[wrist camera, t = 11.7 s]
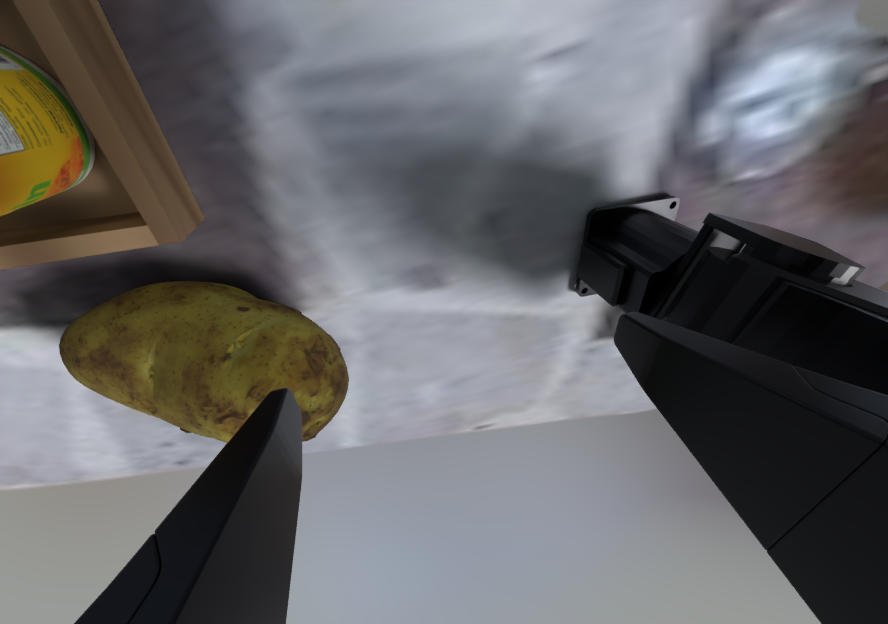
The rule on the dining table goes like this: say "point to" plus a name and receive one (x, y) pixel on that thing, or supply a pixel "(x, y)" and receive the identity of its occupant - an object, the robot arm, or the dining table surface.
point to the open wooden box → (116, 144)
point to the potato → (205, 356)
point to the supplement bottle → (38, 135)
